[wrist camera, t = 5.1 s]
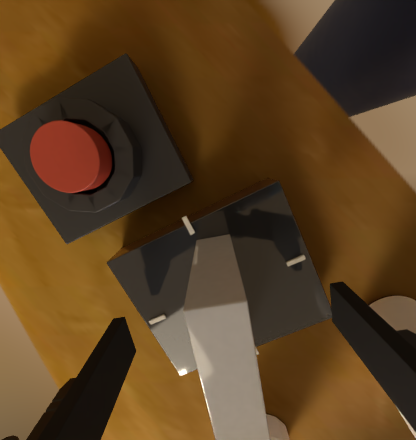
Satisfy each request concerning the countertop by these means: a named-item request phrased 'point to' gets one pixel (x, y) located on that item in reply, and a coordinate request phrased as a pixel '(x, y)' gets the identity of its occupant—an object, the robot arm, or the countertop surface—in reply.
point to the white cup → (277, 429)
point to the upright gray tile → (224, 342)
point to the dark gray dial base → (247, 262)
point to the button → (70, 156)
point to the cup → (398, 318)
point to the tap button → (118, 143)
